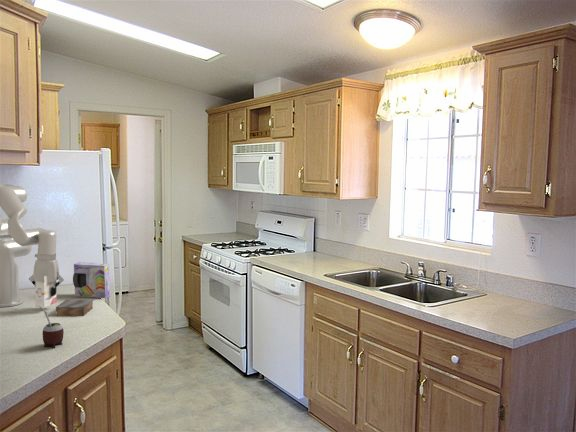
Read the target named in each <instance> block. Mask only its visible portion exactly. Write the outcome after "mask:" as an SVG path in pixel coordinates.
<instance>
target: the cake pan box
mask: <svg viewBox="0 0 576 432" xmlns="http://www.w3.org/2000/svg"><path fill="white" fill-rule="evenodd" d="M72 275H73V276H72V285H73V286H74V296H75V297H82V298H83V297H84V298H98V299H107V298H109V297H110V296H111V285H110V284H111V283H110V265H109V263H97V262H84V261H78V262H75V263H73V274H72Z"/></svg>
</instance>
